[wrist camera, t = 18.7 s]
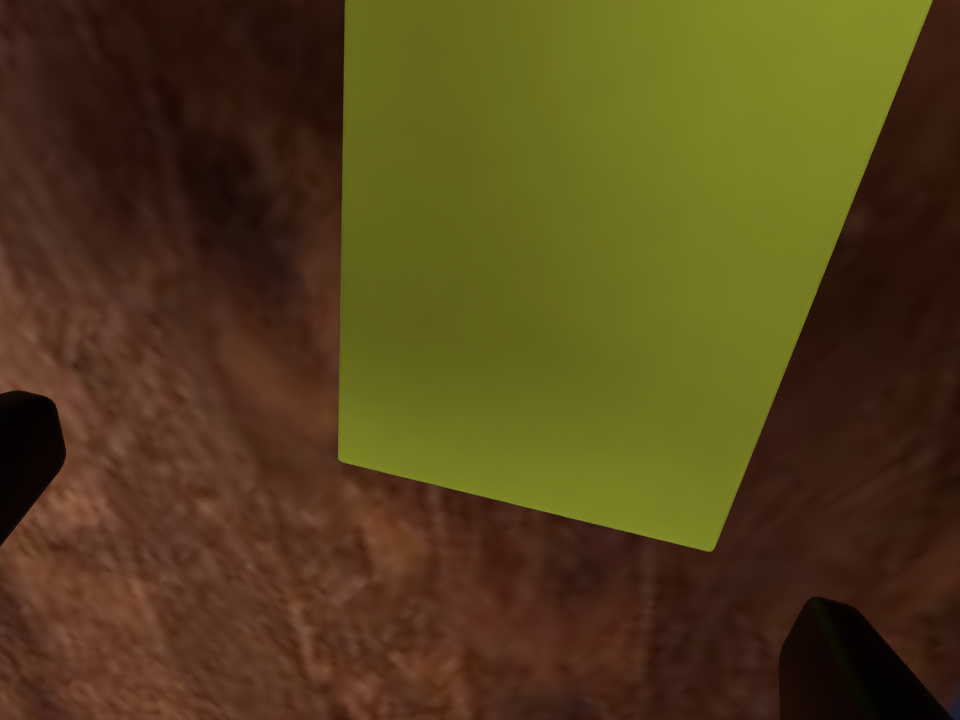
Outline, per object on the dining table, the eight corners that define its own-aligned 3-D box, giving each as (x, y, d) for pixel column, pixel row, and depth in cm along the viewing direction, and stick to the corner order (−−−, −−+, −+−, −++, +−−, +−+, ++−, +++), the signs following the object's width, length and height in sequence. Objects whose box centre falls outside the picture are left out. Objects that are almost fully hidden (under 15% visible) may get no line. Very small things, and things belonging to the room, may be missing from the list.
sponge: (851, -81, 8) (989, -134, 5) (696, 393, 12) (714, 555, 8) (462, -126, 9) (343, -200, 6) (422, 334, 13) (335, 462, 9)
